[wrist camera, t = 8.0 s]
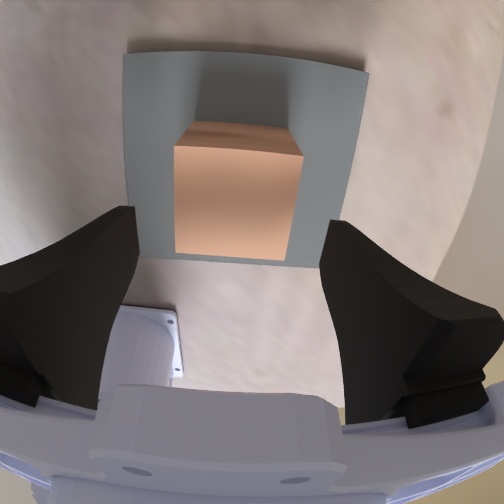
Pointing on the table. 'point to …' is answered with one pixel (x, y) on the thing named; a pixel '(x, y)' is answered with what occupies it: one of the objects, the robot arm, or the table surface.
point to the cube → (235, 189)
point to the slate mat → (244, 112)
